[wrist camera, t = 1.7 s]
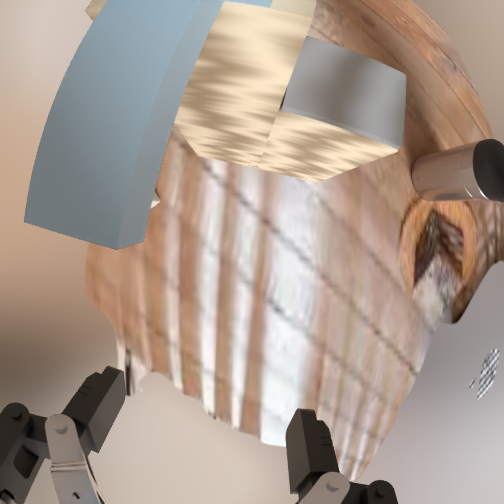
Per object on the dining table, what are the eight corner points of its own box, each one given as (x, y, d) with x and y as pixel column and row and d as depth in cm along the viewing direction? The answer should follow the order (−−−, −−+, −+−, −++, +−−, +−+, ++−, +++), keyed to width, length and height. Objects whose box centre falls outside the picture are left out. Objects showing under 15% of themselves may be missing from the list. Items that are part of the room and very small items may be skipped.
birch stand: (324, 142, 44) (478, 23, 7) (316, 183, 44) (497, 118, 8) (209, 115, 42) (149, -66, 6) (198, 156, 43) (84, 10, 7)
